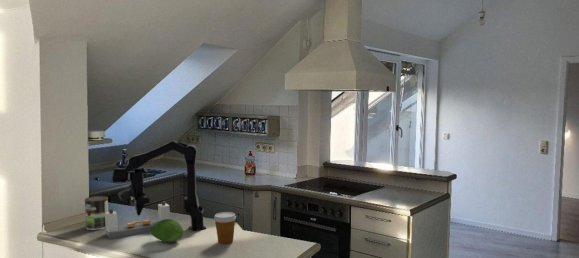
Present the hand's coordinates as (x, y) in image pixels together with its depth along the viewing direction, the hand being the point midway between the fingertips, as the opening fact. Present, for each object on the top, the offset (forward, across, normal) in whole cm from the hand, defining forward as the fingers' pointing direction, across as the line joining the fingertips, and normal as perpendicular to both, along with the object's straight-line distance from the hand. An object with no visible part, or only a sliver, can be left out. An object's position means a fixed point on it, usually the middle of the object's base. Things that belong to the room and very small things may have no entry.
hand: (138, 215), depth 215 cm
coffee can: (+8, -18, -15) cm, 25 cm away
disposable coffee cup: (+8, +37, +27) cm, 46 cm away
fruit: (+8, +22, +6) cm, 24 cm away
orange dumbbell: (+5, 0, 0) cm, 5 cm away
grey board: (+8, 0, 0) cm, 8 cm away
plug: (+5, 0, +12) cm, 13 cm away
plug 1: (+5, 0, -12) cm, 13 cm away
